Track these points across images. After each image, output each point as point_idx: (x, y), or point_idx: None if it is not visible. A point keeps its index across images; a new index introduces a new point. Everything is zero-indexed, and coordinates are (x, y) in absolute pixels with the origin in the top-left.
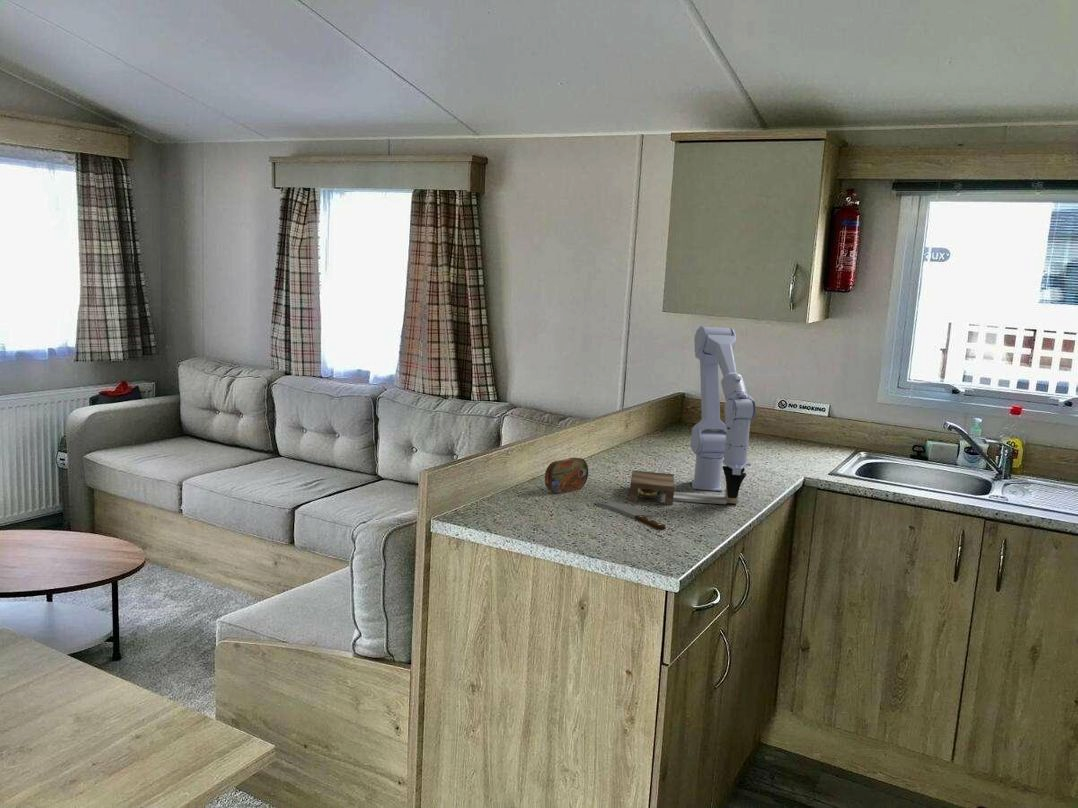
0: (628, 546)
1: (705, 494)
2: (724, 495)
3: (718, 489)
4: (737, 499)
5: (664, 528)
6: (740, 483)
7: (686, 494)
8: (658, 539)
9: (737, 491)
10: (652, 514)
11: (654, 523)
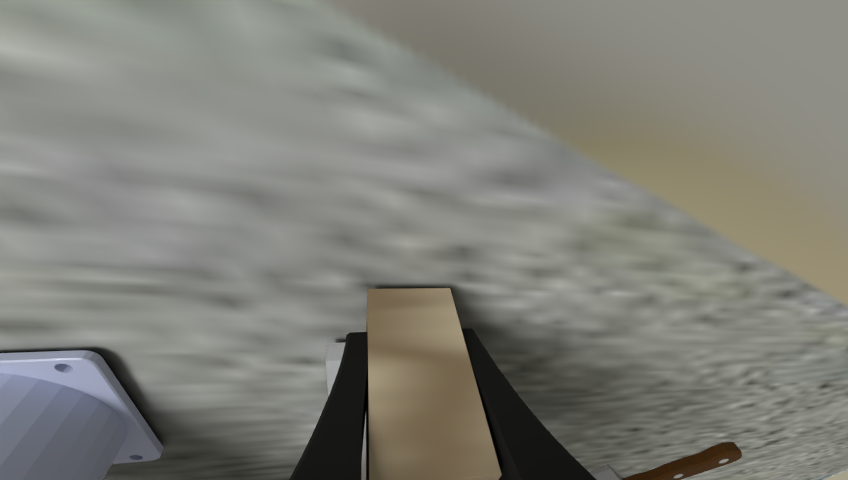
0: (802, 463)
1: None
2: (330, 362)
3: (97, 376)
4: (456, 312)
5: (736, 446)
6: (561, 449)
7: (365, 463)
8: (794, 441)
9: (499, 376)
10: (600, 473)
11: (713, 467)
